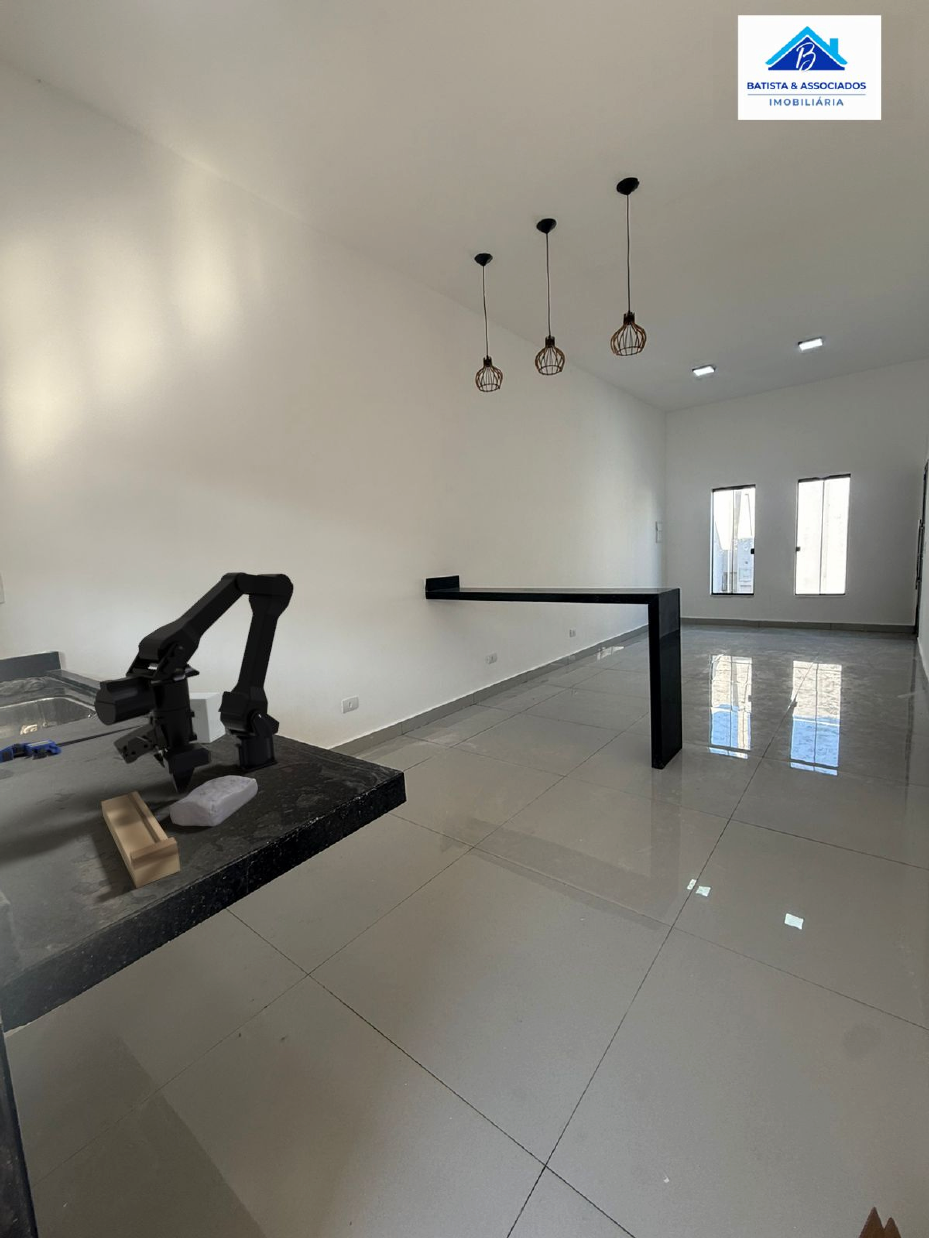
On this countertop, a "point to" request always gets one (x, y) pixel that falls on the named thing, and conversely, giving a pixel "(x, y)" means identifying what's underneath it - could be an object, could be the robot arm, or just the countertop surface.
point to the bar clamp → (41, 747)
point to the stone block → (213, 801)
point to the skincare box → (206, 716)
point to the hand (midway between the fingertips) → (181, 793)
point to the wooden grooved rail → (140, 839)
